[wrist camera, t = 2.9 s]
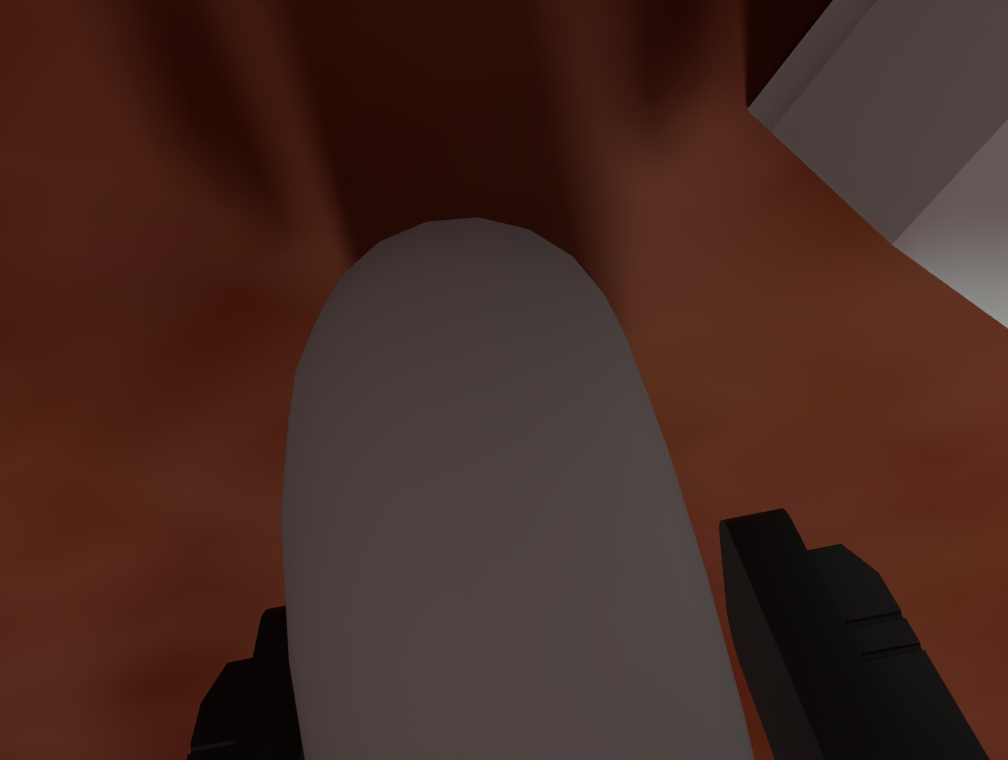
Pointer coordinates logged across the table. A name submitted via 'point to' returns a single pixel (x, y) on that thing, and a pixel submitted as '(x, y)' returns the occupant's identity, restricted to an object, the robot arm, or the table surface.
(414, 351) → the donut
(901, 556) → the table surface
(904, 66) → the walled tray
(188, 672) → the table surface
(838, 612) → the robot arm
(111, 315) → the table surface
